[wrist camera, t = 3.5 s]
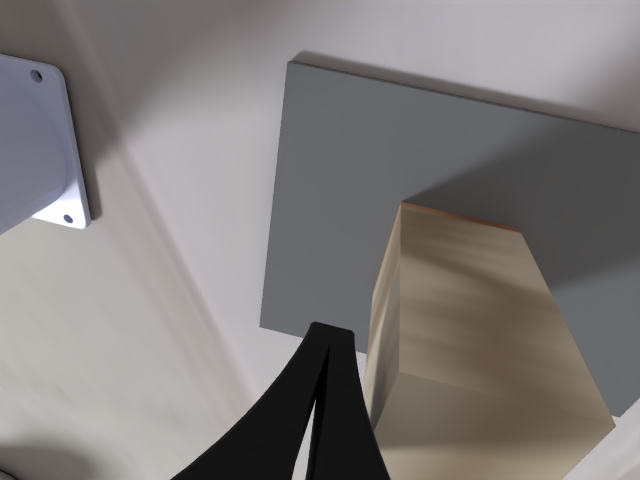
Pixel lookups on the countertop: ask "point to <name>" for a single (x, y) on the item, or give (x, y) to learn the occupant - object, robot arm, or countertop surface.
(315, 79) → the mat
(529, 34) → the countertop surface
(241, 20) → the countertop surface
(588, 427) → the block
